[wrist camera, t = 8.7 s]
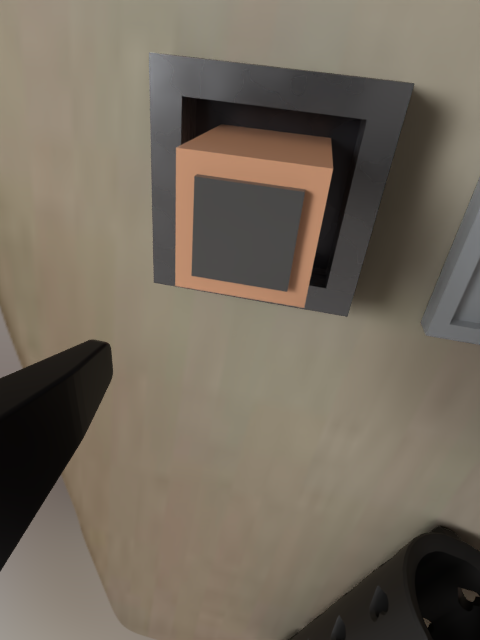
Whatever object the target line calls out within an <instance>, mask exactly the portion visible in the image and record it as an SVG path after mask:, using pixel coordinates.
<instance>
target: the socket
mask: <svg viewBox="0 0 480 640" xmlns="http://www.w3.org/2000/svg"><path fill="white" fill-rule="evenodd" d="M149 76H150V123H151V170H152V217H153V264H154V283H159V284H165V285H170V286H175V247H176V147H178V146H180V145H182V144H184V143H186V142H188V141H190V140H192V139H194V138H196V137H198V136H200V135H202V134H203V133H205V132H207V131H209V130H211V129H213V128H215V127H217V126H219V125H221V124H224V125H232V126H240V127H248V128H255V129H263V130H271V131H279V132H287V133H295V134H303V135H311V136H318V137H326V138H331V144H332V159H333V172H332V177H331V182H330V187H329V191H328V196H327V201H326V206H325V210H324V215H323V220H322V225H321V230H320V234H319V239H318V244H317V249H316V254H315V258H314V263H313V268H312V273H311V278H310V282H309V287H308V292H307V297H306V302H305V306H304V308H302V307H296V306H290V305H284V304H278V303H272V302H267V301H261V300H255V299H250V300H255V301H261V302H267V303H272V304H278V305H284V306H289V307H295V308H301V309H307V310H312V311H318V312H324V313H329V314H335V315H341V316H346V317H347V316H348V313H349V310H350V306H351V303H352V299H353V296H354V292H355V289H356V285H357V282H358V278H359V275H360V271H361V268H362V264H363V261H364V257H365V254H366V250H367V247H368V243H369V240H370V236H371V233H372V229H373V226H374V222H375V219H376V216H377V212H378V209H379V205H380V202H381V198H382V195H383V191H384V188H385V184H386V181H387V177H388V174H389V170H390V167H391V163H392V160H393V156H394V153H395V149H396V146H397V142H398V139H399V135H400V132H401V128H402V125H403V121H404V118H405V115H406V111H407V108H408V104H409V101H410V97H411V94H412V90H413V87H414V83H408V82H401V81H392V80H383V79H375V78H366V77H358V76H349V75H341V74H332V73H323V72H315V71H306V70H298V69H289V68H280V67H272V66H263V65H255V64H246V63H238V62H229V61H220V60H212V59H203V58H195V57H186V56H177V55H168V54H158V53H149ZM176 287H179V286H176ZM182 288H185V287H182ZM187 289H191V288H187ZM193 290H196V289H193ZM199 291H202V290H199ZM204 292H208V291H204ZM210 293H214V292H210ZM216 294H220V293H216ZM221 295H226V294H221ZM227 296H232V295H227ZM233 297H237V296H233ZM238 298H243V297H238ZM244 299H249V298H244Z"/></svg>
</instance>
